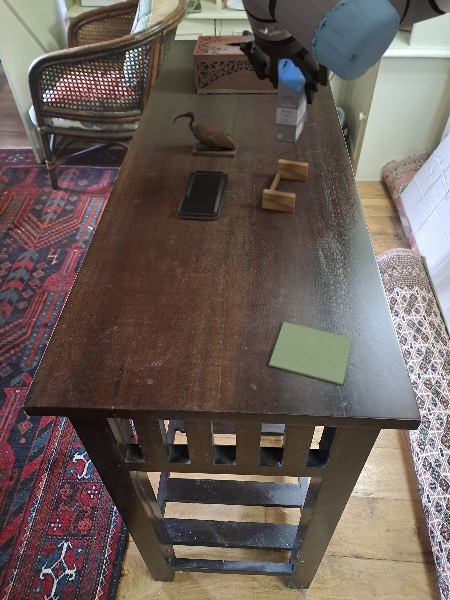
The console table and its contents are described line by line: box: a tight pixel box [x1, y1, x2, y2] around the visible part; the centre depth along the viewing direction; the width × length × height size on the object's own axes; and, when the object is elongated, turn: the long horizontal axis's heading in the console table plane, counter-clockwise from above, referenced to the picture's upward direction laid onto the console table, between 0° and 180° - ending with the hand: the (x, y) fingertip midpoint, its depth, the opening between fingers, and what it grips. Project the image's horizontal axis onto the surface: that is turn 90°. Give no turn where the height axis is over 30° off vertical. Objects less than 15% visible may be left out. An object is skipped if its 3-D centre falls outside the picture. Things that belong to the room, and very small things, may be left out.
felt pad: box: [268, 321, 353, 386], centre depth 64 cm, size 10×8×1 cm
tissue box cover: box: [192, 34, 288, 90], centre depth 124 cm, size 26×14×10 cm, turn 87°
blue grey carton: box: [274, 59, 310, 144], centre depth 76 cm, size 9×4×12 cm, turn 160°
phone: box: [177, 169, 229, 221], centre depth 90 cm, size 8×1×15 cm
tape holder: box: [261, 158, 309, 214], centre depth 89 cm, size 6×12×4 cm, turn 161°
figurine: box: [172, 111, 239, 159], centre depth 100 cm, size 14×4×9 cm, turn 80°
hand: (298, 95), depth 79 cm, fingers closed on blue grey carton, 4 cm apart
